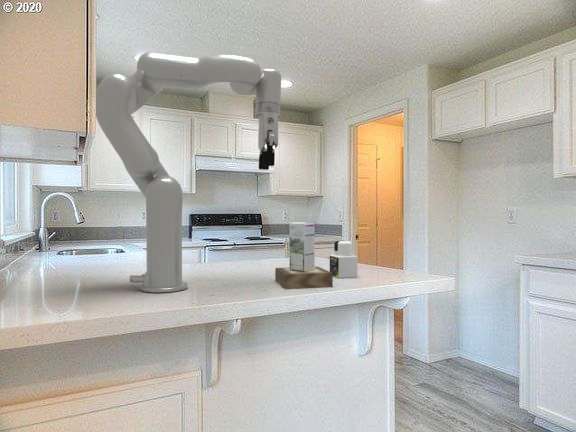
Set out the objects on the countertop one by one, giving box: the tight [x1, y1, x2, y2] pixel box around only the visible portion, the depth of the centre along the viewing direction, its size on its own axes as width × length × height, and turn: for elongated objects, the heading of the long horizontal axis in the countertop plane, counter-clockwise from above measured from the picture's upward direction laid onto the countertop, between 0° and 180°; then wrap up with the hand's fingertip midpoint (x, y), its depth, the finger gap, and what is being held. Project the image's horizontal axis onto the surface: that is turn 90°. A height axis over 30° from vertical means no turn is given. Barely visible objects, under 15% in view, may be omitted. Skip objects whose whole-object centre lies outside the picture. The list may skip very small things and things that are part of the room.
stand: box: [274, 266, 334, 290], centre depth 118 cm, size 14×14×4 cm
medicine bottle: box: [329, 240, 358, 279], centre depth 131 cm, size 7×7×12 cm
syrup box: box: [288, 221, 316, 272], centre depth 118 cm, size 6×6×14 cm
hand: (266, 167), depth 119 cm, fingers open, 9 cm apart
